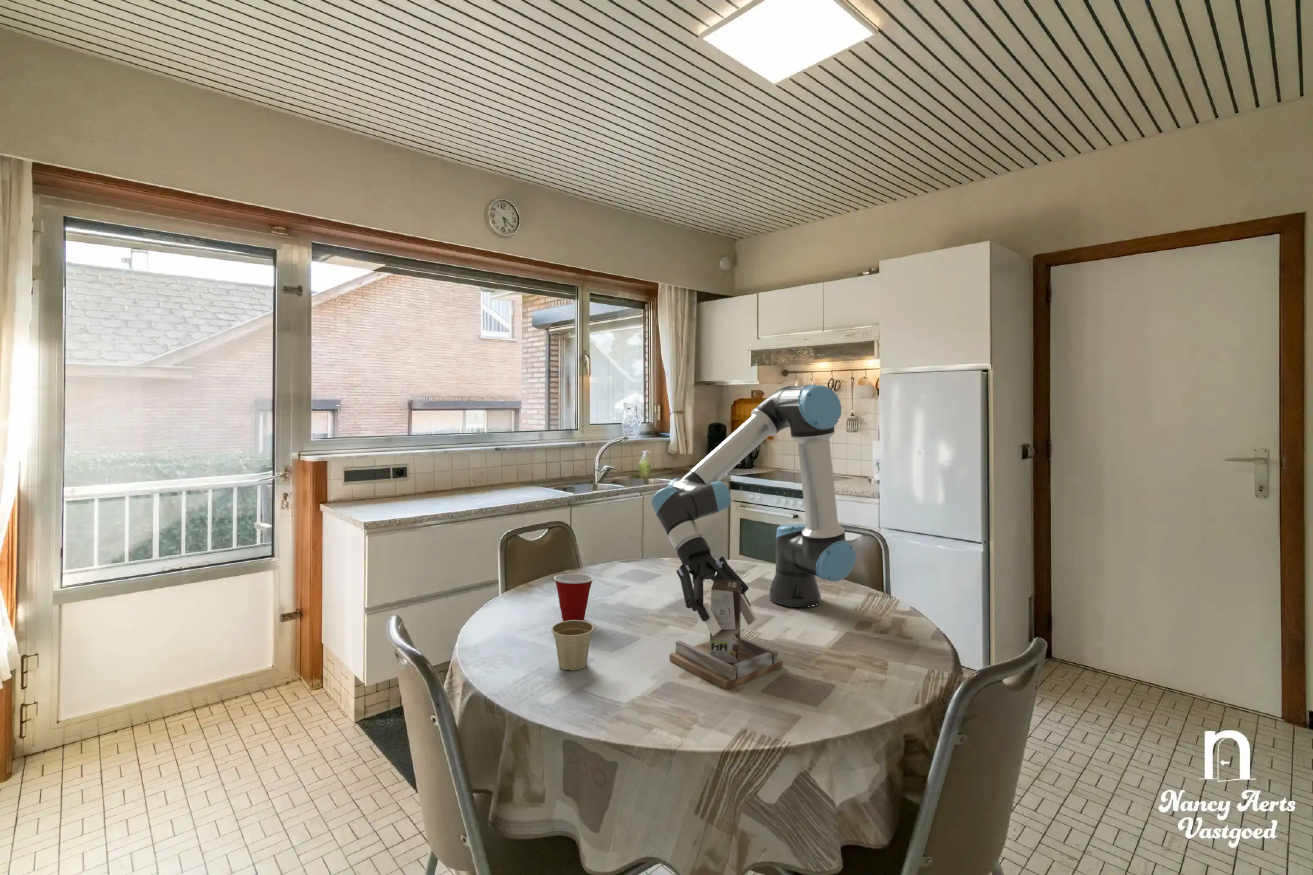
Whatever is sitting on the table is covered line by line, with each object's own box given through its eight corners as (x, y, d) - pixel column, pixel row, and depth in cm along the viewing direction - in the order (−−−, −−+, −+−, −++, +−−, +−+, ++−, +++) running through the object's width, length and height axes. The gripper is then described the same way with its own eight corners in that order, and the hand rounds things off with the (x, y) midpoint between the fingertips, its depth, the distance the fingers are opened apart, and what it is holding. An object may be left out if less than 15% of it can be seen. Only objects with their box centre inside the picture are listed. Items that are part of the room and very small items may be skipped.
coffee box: (738, 664, 133) (739, 591, 132) (708, 661, 134) (710, 589, 133) (740, 647, 142) (742, 579, 141) (713, 645, 143) (714, 577, 142)
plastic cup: (600, 615, 169) (600, 572, 168) (582, 629, 158) (583, 583, 158) (565, 611, 172) (565, 569, 171) (546, 623, 162) (546, 579, 161)
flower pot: (575, 678, 130) (575, 638, 129) (542, 667, 135) (542, 629, 134) (602, 662, 138) (602, 625, 137) (570, 653, 143) (570, 617, 142)
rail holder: (725, 642, 151) (726, 626, 150) (782, 667, 136) (783, 649, 136) (669, 660, 139) (669, 643, 139) (725, 689, 125) (725, 670, 125)
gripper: (716, 546, 156) (761, 624, 145) (644, 560, 142) (688, 647, 130) (731, 529, 152) (779, 608, 140) (659, 541, 137) (705, 630, 126)
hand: (735, 627), depth 135 cm, fingers closed on coffee box, 11 cm apart
